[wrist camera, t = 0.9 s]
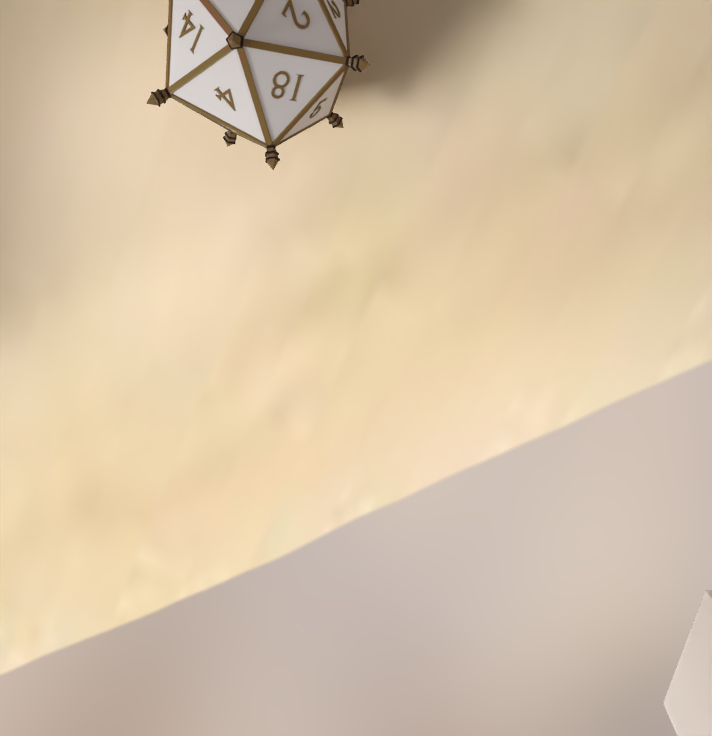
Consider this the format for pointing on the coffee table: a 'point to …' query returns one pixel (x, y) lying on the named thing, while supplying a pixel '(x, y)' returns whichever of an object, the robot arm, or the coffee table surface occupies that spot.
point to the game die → (258, 65)
